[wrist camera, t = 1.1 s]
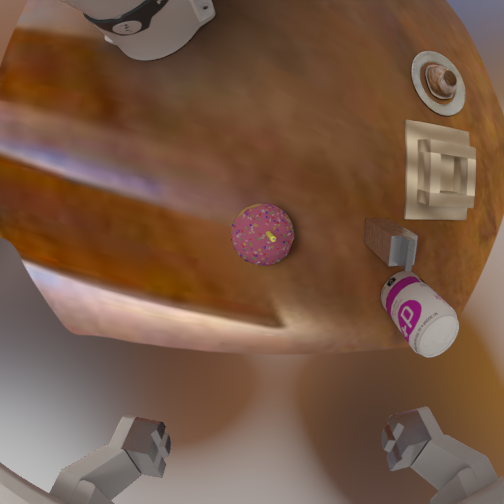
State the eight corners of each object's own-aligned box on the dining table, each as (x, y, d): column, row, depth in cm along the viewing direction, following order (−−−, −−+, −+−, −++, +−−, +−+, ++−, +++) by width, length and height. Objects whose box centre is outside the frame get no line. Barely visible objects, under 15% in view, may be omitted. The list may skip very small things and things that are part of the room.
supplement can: (372, 306, 47) (405, 359, 32) (389, 264, 44) (433, 307, 30) (407, 313, 47) (444, 361, 33) (424, 274, 44) (470, 315, 30)
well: (404, 120, 36) (418, 117, 32) (466, 132, 35) (482, 132, 31) (403, 218, 41) (416, 225, 37) (464, 219, 41) (479, 225, 36)
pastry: (458, 64, 32) (473, 59, 27) (462, 123, 36) (478, 122, 31) (406, 44, 32) (418, 36, 28) (410, 107, 36) (424, 103, 31)
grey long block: (365, 218, 42) (398, 240, 30) (387, 218, 41) (425, 240, 30) (363, 243, 43) (394, 272, 32) (386, 242, 43) (420, 270, 31)
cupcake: (257, 187, 41) (255, 198, 29) (302, 222, 42) (317, 246, 31) (223, 232, 43) (209, 260, 32) (267, 264, 45) (269, 301, 33)
